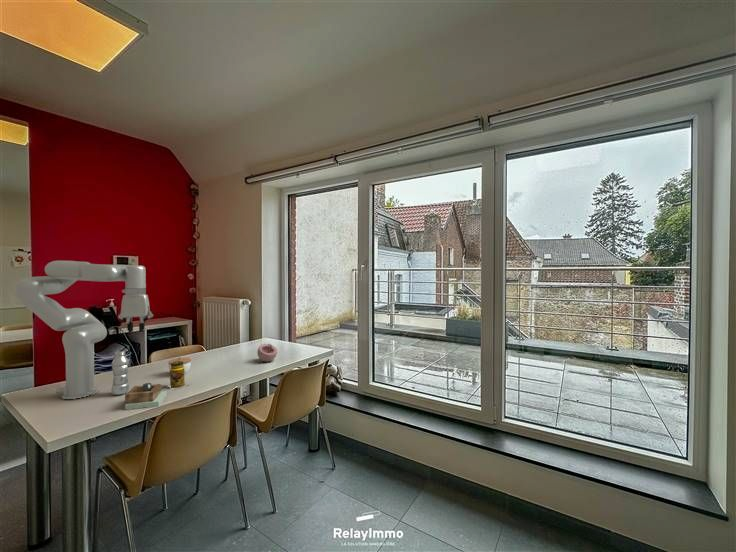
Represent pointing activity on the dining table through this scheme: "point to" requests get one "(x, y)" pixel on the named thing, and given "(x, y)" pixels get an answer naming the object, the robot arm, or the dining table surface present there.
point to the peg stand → (148, 404)
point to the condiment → (177, 375)
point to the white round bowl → (185, 362)
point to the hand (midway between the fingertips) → (136, 331)
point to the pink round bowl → (266, 352)
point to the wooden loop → (142, 394)
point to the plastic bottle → (120, 373)
